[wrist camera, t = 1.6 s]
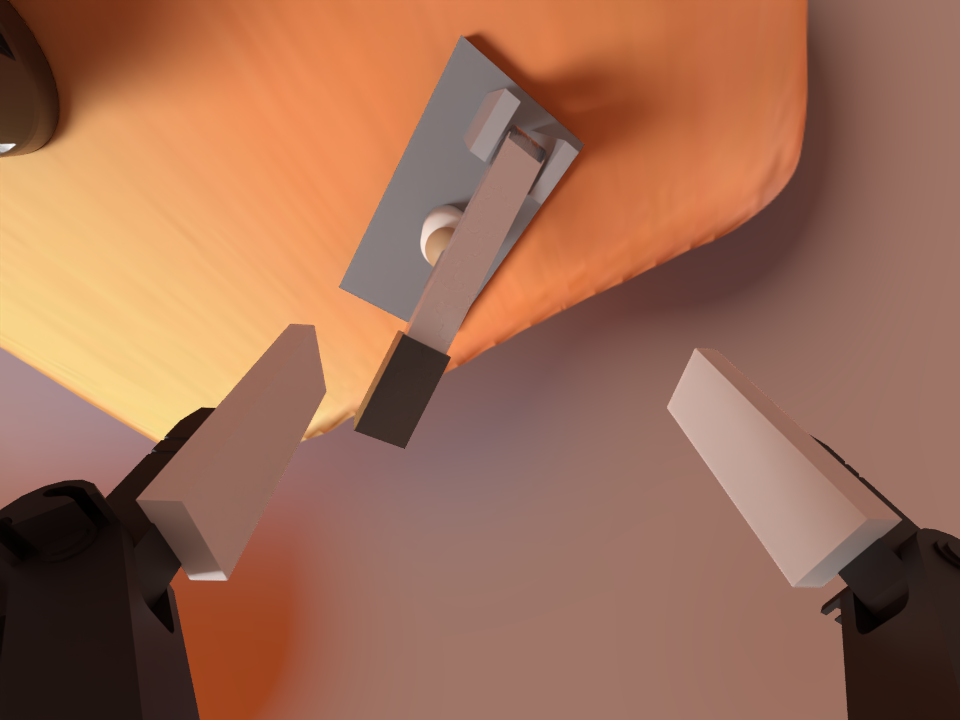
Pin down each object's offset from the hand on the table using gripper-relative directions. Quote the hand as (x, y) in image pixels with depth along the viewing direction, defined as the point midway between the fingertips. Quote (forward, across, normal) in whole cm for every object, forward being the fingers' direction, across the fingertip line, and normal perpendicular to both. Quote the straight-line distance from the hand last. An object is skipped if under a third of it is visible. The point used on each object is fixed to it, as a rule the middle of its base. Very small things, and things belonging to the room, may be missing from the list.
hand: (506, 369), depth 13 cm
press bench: (+31, -3, -2) cm, 31 cm away
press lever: (+15, -3, -3) cm, 15 cm away
